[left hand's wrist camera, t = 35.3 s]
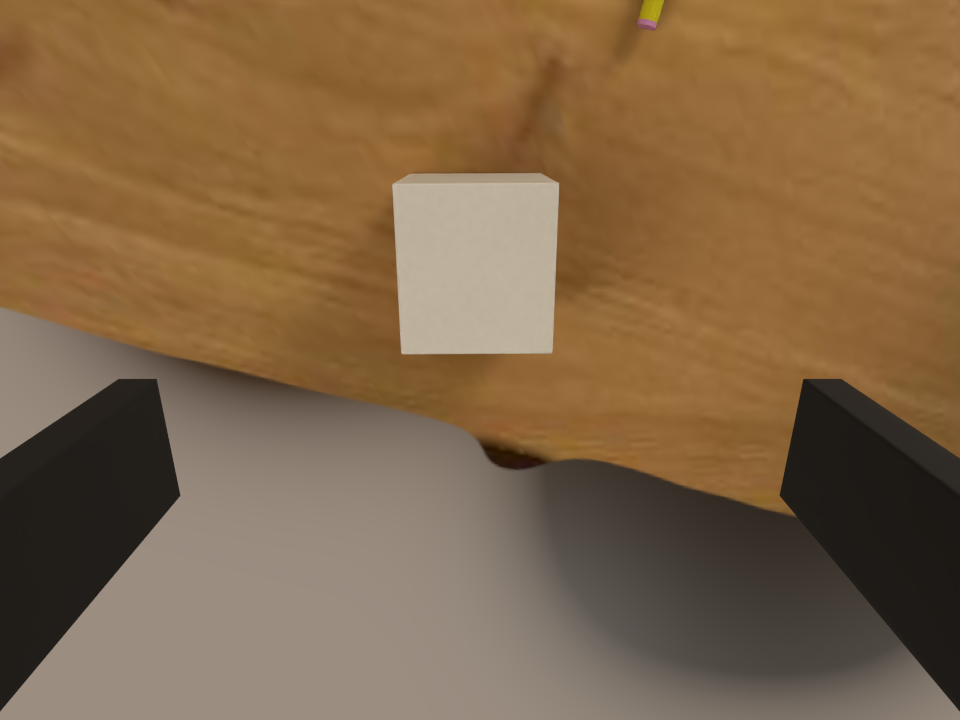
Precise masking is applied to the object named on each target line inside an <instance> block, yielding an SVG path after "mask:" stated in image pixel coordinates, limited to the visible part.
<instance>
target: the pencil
mask: <svg viewBox="0 0 960 720" xmlns="http://www.w3.org/2000/svg"><path fill="white" fill-rule="evenodd" d="M663 3H664V0H644V2H643V5H642V9H641V12H640V15H639V19H638V22H637V26H638V27H640V28H643V29H647V30H655V29H656V26H657V22H658V19H659V16H660V13H661V9H662V6H663Z"/></svg>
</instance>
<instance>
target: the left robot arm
mask: <svg viewBox="0 0 960 720" xmlns="http://www.w3.org/2000/svg"><path fill="white" fill-rule="evenodd" d="M179 497H180V492H179V487H178V482H177V477H176V473H175V467H174V462H173V458H172V453H171V448H170V443H169V438H168V433H167V428H166V423H165V418H164V413H163V409H162V404H161V399H160V394H159V389H158V384H157V379H118V380H117V381H115V382H114V383H112V384H111V385H109V386H108V387H106V388H105V389H103V390H102V391H100V392H99V393H97V394H96V395H94V396H93V397H91V398H90V399H88V400H87V401H85V402H84V403H82V404H81V405H79V406H78V407H76V408H75V409H73V410H72V411H70V412H69V413H67V414H66V415H65V416H63V417H61V418H60V419H59V420H57V421H56V422H54V423H53V424H51V425H50V426H48V427H47V428H45V429H44V430H42V431H41V432H39V433H38V434H36V435H35V436H33V437H32V438H30V439H29V440H27V441H26V442H24V443H23V444H21V445H20V446H18V447H17V448H15V449H14V450H12V451H11V452H9V453H8V454H6V455H5V456H3V457H2V458H0V711H1V710H2V708H3V707H4V706H5V705H6V704H7V703H8V701H9V700H10V699H11V698H12V697H13V695H14V694H15V693H16V692H17V691H18V689H19V688H20V687H21V686H22V685H23V683H24V682H25V681H26V680H27V679H28V677H29V676H30V675H31V674H32V673H33V671H34V670H35V669H36V668H37V667H38V665H39V664H40V663H41V662H42V661H43V659H44V658H45V657H46V656H47V655H48V653H49V652H50V651H51V650H52V649H53V647H54V646H55V645H56V644H57V643H58V641H59V640H60V639H61V638H62V637H63V635H64V634H65V633H66V632H67V631H68V629H69V628H70V627H71V626H72V625H73V624H74V622H75V621H76V620H77V619H78V617H79V616H80V615H81V614H82V613H83V612H84V610H85V609H86V608H87V607H88V606H89V604H90V603H91V602H92V601H93V600H94V598H95V597H96V596H97V595H98V594H99V592H100V591H101V590H102V589H103V588H104V586H105V585H106V584H107V583H108V582H109V580H110V579H111V578H112V577H113V576H114V574H115V573H116V572H117V571H118V570H119V568H120V567H121V566H122V565H123V564H124V562H125V561H126V560H127V559H128V558H129V556H130V555H131V554H132V553H133V552H134V550H135V549H136V548H137V547H138V546H139V544H140V543H141V542H142V541H143V540H144V538H145V537H146V536H147V535H148V534H149V533H150V531H151V530H152V529H153V528H154V526H155V525H156V524H157V523H158V522H159V521H160V519H161V518H162V517H163V516H164V515H165V513H166V512H167V511H168V510H169V508H170V507H171V506H172V505H173V504H174V503H175V501H176V500H177V499H178V498H179ZM780 497H781V498H782V499H783V500H784V501H785V503H786V504H787V505H788V506H789V507H790V509H791V510H792V511H793V512H794V513H795V515H796V516H797V517H798V518H799V519H800V521H801V522H802V523H803V524H804V525H805V526H806V528H807V529H808V530H809V531H810V533H811V534H812V535H813V536H814V537H815V538H816V540H817V541H818V542H819V543H820V544H821V546H822V547H823V548H824V549H825V550H826V552H827V553H828V554H829V555H830V556H831V558H832V559H833V560H834V561H835V562H836V564H837V565H838V566H839V567H840V568H841V570H842V571H843V572H844V573H845V574H846V576H847V577H848V578H849V579H850V580H851V582H852V583H853V584H854V585H855V586H856V588H857V589H858V590H859V591H860V592H861V594H862V595H863V596H864V597H865V598H866V600H867V601H868V602H869V603H870V604H871V606H872V607H873V608H874V609H875V610H876V612H877V613H878V614H879V615H880V616H881V618H882V619H883V620H884V621H885V622H886V623H887V625H888V626H889V627H890V628H891V629H892V631H893V632H894V633H895V634H896V635H897V637H898V638H899V639H900V640H901V641H902V643H903V644H904V645H905V646H906V647H907V649H908V650H909V651H910V652H911V653H912V655H913V656H914V657H915V658H916V659H917V661H918V662H919V663H920V664H921V665H922V667H923V668H924V669H925V670H926V671H927V673H928V674H929V675H930V676H931V677H932V679H933V680H934V681H935V682H936V683H937V685H938V686H939V687H940V688H941V689H942V691H943V692H944V693H945V694H946V695H947V697H948V698H949V699H950V700H951V701H952V703H953V704H954V705H955V706H956V707H957V709H958V710H959V711H960V458H958V457H957V456H955V455H954V454H952V453H951V452H949V451H948V450H946V449H945V448H943V447H942V446H940V445H939V444H937V443H936V442H934V441H933V440H931V439H930V438H928V437H927V436H925V435H924V434H922V433H921V432H919V431H918V430H916V429H915V428H913V427H912V426H910V425H909V424H907V423H906V422H904V421H903V420H902V419H900V418H899V417H897V416H896V415H894V414H893V413H891V412H890V411H888V410H887V409H885V408H884V407H882V406H881V405H879V404H878V403H876V402H875V401H873V400H872V399H870V398H869V397H867V396H866V395H864V394H863V393H861V392H860V391H858V390H857V389H855V388H854V387H852V386H851V385H849V384H848V383H846V382H845V381H843V380H842V379H803V384H802V389H801V394H800V399H799V404H798V408H797V413H796V418H795V423H794V428H793V433H792V438H791V443H790V448H789V453H788V457H787V462H786V467H785V472H784V477H783V482H782V487H781V492H780Z"/></svg>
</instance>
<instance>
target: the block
mask: <svg viewBox="0 0 960 720" xmlns="http://www.w3.org/2000/svg"><path fill="white" fill-rule="evenodd" d="M392 188H393V207H394V226H395V245H396V264H397V282H398V301H399V320H400V339H401V354H527V353H552V349H553V325H554V300H555V276H556V251H557V226H558V202H559V183H558V182H556V181H554V180H552V179H550V178H549V177H547V176H545V175H543V174H541V173H453V174H409V175H408V176H406V177H404V178H402V179H401V180H399V181H397V182H395V183H394V184H393V185H392Z"/></svg>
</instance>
